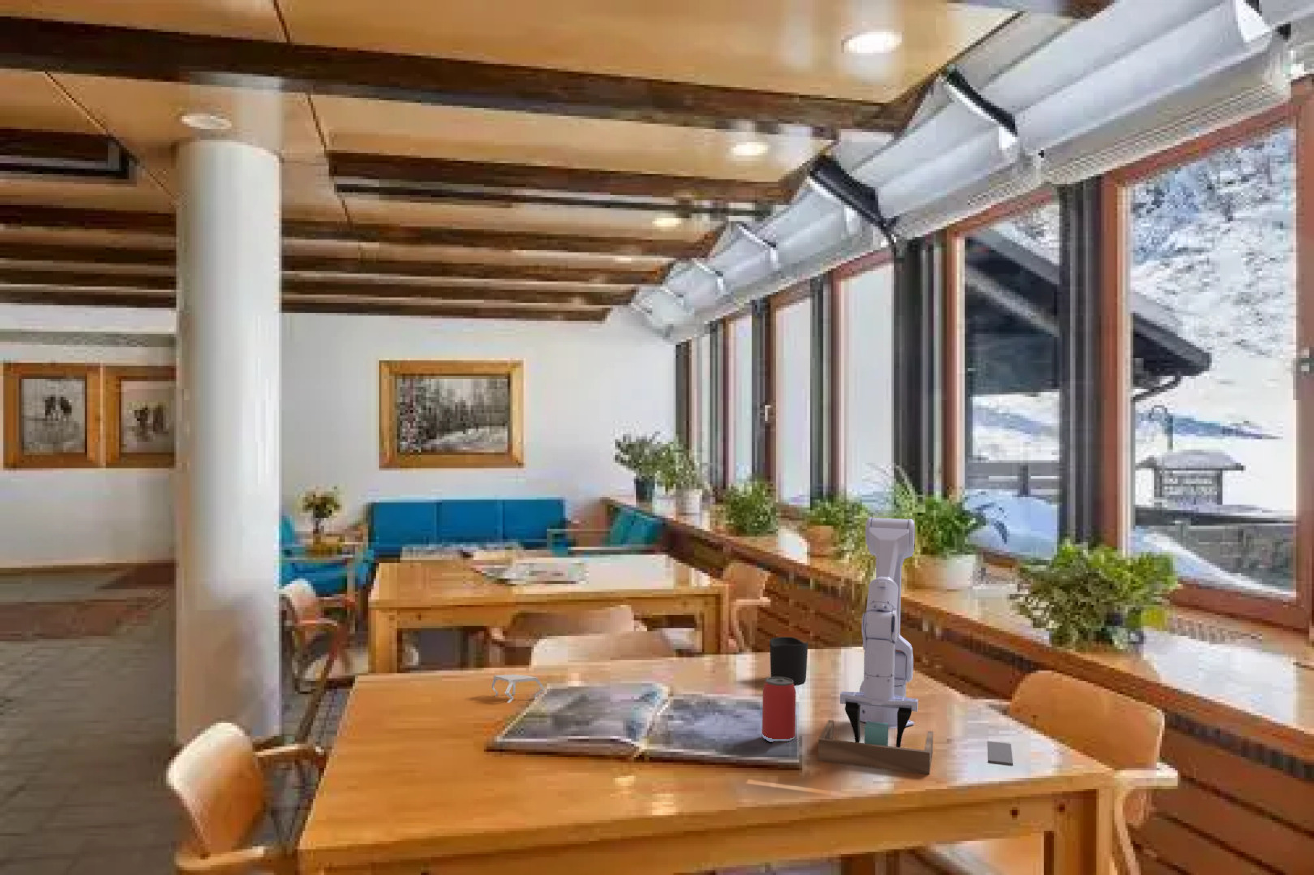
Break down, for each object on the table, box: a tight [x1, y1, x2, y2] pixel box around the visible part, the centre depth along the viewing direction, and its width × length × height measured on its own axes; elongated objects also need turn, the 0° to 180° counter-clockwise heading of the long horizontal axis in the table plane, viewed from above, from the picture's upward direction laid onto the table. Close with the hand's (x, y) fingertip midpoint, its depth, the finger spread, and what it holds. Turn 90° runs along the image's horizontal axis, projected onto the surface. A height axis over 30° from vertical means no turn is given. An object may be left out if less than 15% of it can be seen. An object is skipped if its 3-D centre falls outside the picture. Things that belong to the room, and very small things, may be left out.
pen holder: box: [769, 636, 809, 686], centre depth 237 cm, size 9×9×10 cm
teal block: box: [863, 721, 889, 746], centre depth 180 cm, size 4×4×6 cm
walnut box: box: [817, 719, 934, 775], centre depth 180 cm, size 13×20×4 cm, turn 71°
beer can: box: [761, 676, 797, 739], centre depth 191 cm, size 7×7×12 cm
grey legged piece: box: [491, 673, 546, 704], centre depth 218 cm, size 12×8×5 cm
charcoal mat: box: [986, 740, 1014, 766], centre depth 186 cm, size 12×12×1 cm
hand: (877, 744), depth 183 cm, fingers open, 7 cm apart
